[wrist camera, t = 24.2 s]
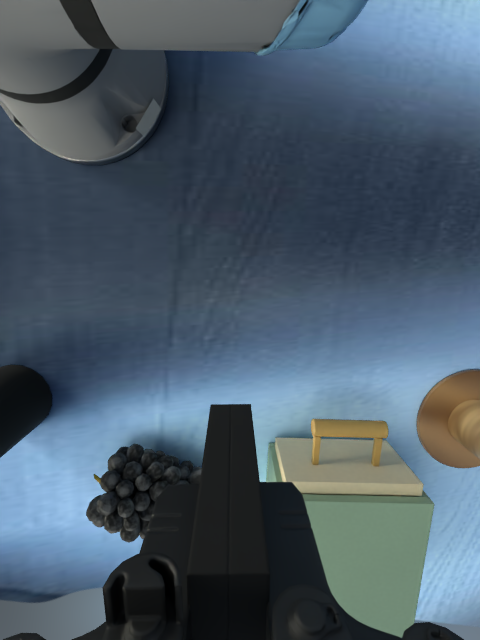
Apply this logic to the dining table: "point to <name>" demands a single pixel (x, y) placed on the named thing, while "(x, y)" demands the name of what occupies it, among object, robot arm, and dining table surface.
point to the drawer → (346, 461)
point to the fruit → (136, 489)
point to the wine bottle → (21, 404)
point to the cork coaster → (447, 418)
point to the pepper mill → (466, 425)
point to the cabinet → (370, 551)
